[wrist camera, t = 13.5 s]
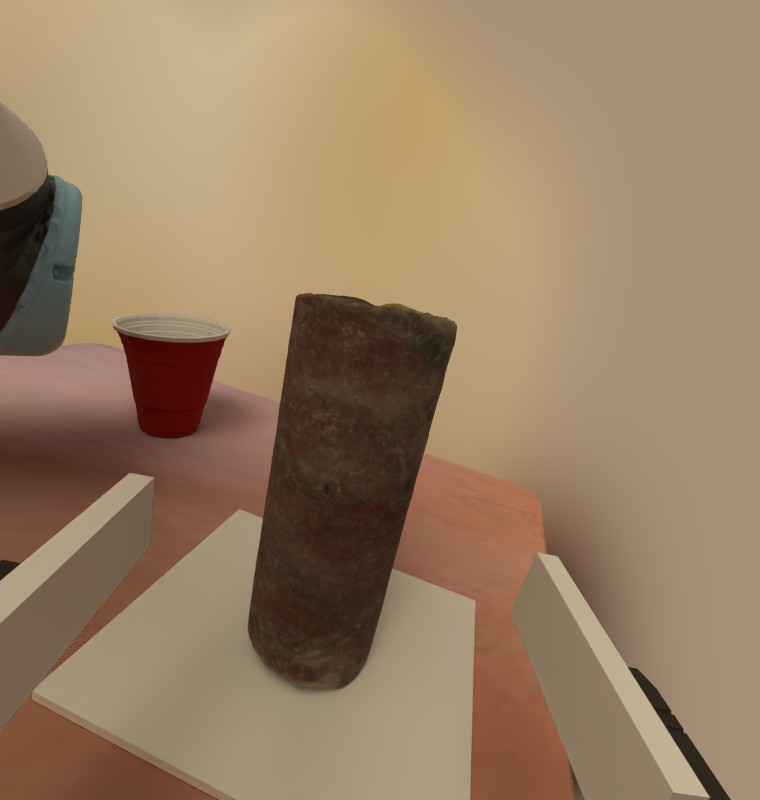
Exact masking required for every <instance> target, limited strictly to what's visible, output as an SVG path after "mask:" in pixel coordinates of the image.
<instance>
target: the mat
mask: <svg viewBox="0 0 760 800" xmlns="http://www.w3.org/2000/svg"><path fill="white" fill-rule="evenodd" d="M262 521H263V518H261V517H258V516H256V515H253V514H251V513H248V512H245V511H243V510H240V509H239V510H237V511H236V512H235V513H234V514H233V515H232V516H231V517H229V518H228V519H227V520H226V521H225V522H224V523H223V524H221V525H220V526H219V527H218V528H217V529H216V530H215V531H213V532H212V533H211V534H210V535H209V536H208V537H207V538H205V539H204V540H203V541H202V542H201V543H200V544H199V545H197V546H196V547H195V548H194V549H193V550H192V551H191V552H189V553H188V554H187V555H186V556H185V557H184V558H183V559H181V560H180V561H179V562H178V563H177V564H176V565H175V566H173V567H172V568H171V569H170V570H169V571H168V572H167V573H165V574H164V575H163V576H162V577H161V578H160V579H159V580H157V581H156V582H155V583H154V584H153V585H152V586H151V587H149V588H148V589H147V590H146V591H145V592H144V593H143V594H141V595H140V596H139V597H138V598H137V599H136V600H135V601H133V602H132V603H131V604H130V605H129V606H128V607H127V608H125V609H124V610H123V611H122V612H121V613H120V614H119V615H117V616H116V617H115V618H114V619H113V620H112V621H111V622H109V623H108V624H107V625H106V626H105V627H104V628H103V629H101V630H100V631H99V632H98V633H97V634H96V635H95V636H93V637H92V638H91V639H90V640H89V641H88V642H87V643H85V644H84V645H83V646H82V647H81V648H80V649H79V650H77V651H76V652H75V653H74V654H73V655H72V656H71V657H69V658H68V659H67V660H66V661H65V662H64V663H63V664H61V665H60V666H59V667H58V668H57V669H56V670H55V671H53V672H52V673H51V674H50V675H49V676H48V677H47V678H45V679H44V680H43V681H42V682H41V683H40V684H39V685H38V686H37V687H36V688H35V689H34V690H33V692H32V700H33V701H35V702H37V703H39V704H41V705H43V706H44V707H46V708H48V709H50V710H52V711H54V712H56V713H57V714H59V715H61V716H63V717H65V718H67V719H69V720H71V721H72V722H74V723H76V724H78V725H80V726H82V727H84V728H85V729H87V730H89V731H91V732H93V733H95V734H97V735H99V736H100V737H102V738H104V739H106V740H108V741H110V742H112V743H113V744H115V745H117V746H119V747H121V748H123V749H125V750H127V751H128V752H130V753H132V754H134V755H136V756H138V757H140V758H141V759H143V760H145V761H147V762H149V763H151V764H153V765H155V766H156V767H158V768H160V769H162V770H164V771H166V772H168V773H169V774H171V775H173V776H175V777H177V778H179V779H181V780H183V781H184V782H186V783H188V784H190V785H192V786H194V787H196V788H197V789H199V790H201V791H203V792H205V793H207V794H209V795H211V796H212V797H214V798H216V799H218V800H470V785H471V748H472V711H473V673H474V636H475V600H472V599H470V598H467V597H465V596H462V595H460V594H457V593H454V592H452V591H449V590H447V589H444V588H441V587H439V586H436V585H434V584H431V583H429V582H426V581H423V580H421V579H418V578H416V577H413V576H410V575H408V574H405V573H403V572H400V571H398V570H395V569H392V572H391V575H390V579H389V583H388V587H387V591H386V595H385V599H384V603H383V607H382V610H381V614H380V617H379V621H378V624H377V628H376V631H375V635H374V639H373V642H372V646H371V649H370V652H369V655H368V658H367V661H366V663H365V665H364V666H363V668H362V669H361V671H360V673H359V674H358V675H357V676H356V677H355V678H354V679H353V680H352V681H351V682H350V683H349V684H347V685H346V686H343V687H341V688H335V687H334V688H331V687H325V688H324V687H319V688H312V687H296V686H294V685H293V684H291V683H290V682H288V681H287V680H286V679H284V678H283V677H281V676H280V675H278V674H277V673H275V672H273V671H271V670H270V669H268V668H267V667H266V666H265V665H264V663H263V662H262V660H261V658H260V657H259V655H258V654H257V652H256V651H255V649H254V648H253V646H252V642H251V640H250V638H249V633H248V618H249V610H250V602H251V596H252V589H253V580H254V574H255V566H256V560H257V554H258V548H259V542H260V535H261V528H262Z"/></svg>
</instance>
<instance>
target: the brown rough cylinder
mask: <svg viewBox="0 0 760 800" xmlns="http://www.w3.org/2000/svg"><path fill="white" fill-rule="evenodd" d="M456 330H457V325H456V324H455V322H454V321H451V320H449V319H448V318H447V317H446V318H443V317H438V316H433V315H431V314H429V313H422V312H419V311H416V310H413V309H411V308H408V307H406V306H403V305H401V304H385V305H382V306H374V305H372V304H370V303H369V302H367V301H365V300H362V299H359V298H355V297H348V296H335V295H325V294H315V295H313V294H312V293H306V294H300V295H297V297H296V301H295V307H294V314H293V321H292V329H291V334H290V340H289V347H288V355H287V361H286V368H285V375H284V382H283V389H282V396H281V402H280V408H279V416H278V424H277V431H276V438H275V444H274V450H273V457H272V464H271V471H270V477H269V484H268V491H267V496H266V502H265V509H264V516H263V521H262V528H261V535H260V542H259V548H258V554H257V560H256V566H255V574H254V580H253V589H252V596H251V602H250V610H249V618H248V633H249V638H250V640H251V642H252V646H253V648H254V649H255V651H256V652H257V654H258V655H259V657H260V658H261V660H262V662H263V663H264V665H265V666H266V667H267V668H268V669H270V670H271V671H273V672H275V673H277V674H278V675H280V676H281V677H283V678H284V679H286V680H287V681H288V682H290V683H291V684H293V685H294V686H296V687H312V688H319V687H324V688H325V687H331V688H334V687H335V688H341V687H343V686H346V685H347V684H349V683H350V682H351V681H352V680H353V679H354V678H355V677H356V676H357V675H358V674H359V673H360V671H361V669H362V668H363V666H364V665H365V663H366V661H367V658H368V655H369V652H370V649H371V646H372V642H373V639H374V635H375V631H376V628H377V624H378V621H379V617H380V614H381V610H382V607H383V603H384V599H385V595H386V591H387V587H388V583H389V579H390V575H391V572H392V568H393V564H394V560H395V555H396V552H397V548H398V545H399V541H400V537H401V533H402V530H403V526H404V522H405V518H406V514H407V511H408V507H409V504H410V501H411V497H412V494H413V490H414V486H415V482H416V478H417V474H418V471H419V468H420V464H421V461H422V457H423V454H424V450H425V447H426V444H427V440H428V436H429V431H430V427H431V423H432V420H433V416H434V413H435V409H436V405H437V402H438V399H439V395H440V393H441V390H442V386H443V381H444V377H445V372H446V369H447V365H448V362H449V359H450V355H451V352H452V350H453V347H454V343H455V339H456Z"/></svg>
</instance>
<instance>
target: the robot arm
mask: <svg viewBox="0 0 760 800" xmlns="http://www.w3.org/2000/svg"><path fill="white" fill-rule="evenodd" d="M81 211H82V194H81V192H80V191H79V189H78V188H77V187H76V186H74V185H73V184H71V183H68V182H65V181H64V180H63V179H61V178H60V177H59V176H51V175H48V168H47V160H46V157H45V153H44V150H43V147H42V145H41V142H40V141H39V139H38V138H37V136H36V135H35V134H34V132H33V131H32V130H31V129H30V128H29V127H28V126H27V125H26V124H25V123H24V122H23V121H22V120H21V119H20V118H19V117H18V116H17V115H16V114H14V113H13V112H12V111H10V110H9V109H8V108H7V107H6V106H4V105H3V104H2V103H1V102H0V355H3V356H43V355H47V354H49V353H52V352H54V351H55V350H57V349H58V348H59V347H60V346H61V344H62V343H63V341H64V339H65V334H66V330H67V325H68V318H69V312H70V304H71V297H72V289H73V275H74V271H75V263H76V257H77V250H78V241H79V232H80V222H81ZM153 491H154V477H149V476H144V475H139V474H133V473H129V474H128V475H127V476H126V477H124V478H123V479H122V480H121V481H120V482H118V483H117V484H116V485H115V486H114V487H112V488H111V489H110V490H109V491H107V492H106V493H105V494H104V495H103V496H101V497H100V498H99V499H98V500H97V501H95V502H94V503H93V504H92V505H91V506H89V507H88V508H87V509H86V510H85V511H83V512H82V513H81V514H80V515H79V516H77V517H76V518H75V519H74V520H73V521H71V522H70V523H69V524H68V525H67V526H65V527H64V528H63V529H62V530H61V531H59V532H58V533H57V534H56V535H55V536H53V537H52V538H51V539H50V540H49V541H47V542H46V543H45V544H44V545H43V546H41V547H40V548H39V549H38V550H37V551H35V552H34V553H33V554H32V555H31V556H29V557H28V558H27V559H26V560H25V561H23V562H22V563H17V562H11V561H5V560H1V561H0V731H1V730H2V729H3V728H4V726H5V725H6V724H7V723H8V721H9V720H10V719H11V718H12V716H13V715H14V714H15V713H16V711H17V710H18V709H19V708H20V707H21V705H22V704H23V703H24V702H25V700H26V699H27V698H28V697H29V695H30V694H31V693H32V692H33V690H34V689H35V688H36V687H37V686H38V684H39V683H40V682H41V681H42V679H43V678H44V677H45V676H46V674H47V673H48V672H49V671H50V669H51V668H52V667H53V666H54V665H55V663H56V662H57V661H58V660H59V658H60V657H61V656H62V655H63V653H64V652H65V651H66V650H67V649H68V647H69V646H70V645H71V644H72V642H73V641H74V640H75V639H76V637H77V636H78V635H79V634H80V632H81V631H82V630H83V629H84V628H85V626H86V625H87V624H88V623H89V621H90V620H91V619H92V618H93V616H94V615H95V614H96V613H97V611H98V610H99V609H100V608H101V607H102V605H103V604H104V603H105V602H106V600H107V599H108V598H109V597H110V595H111V594H112V593H113V592H114V590H115V589H116V588H117V587H118V586H119V584H120V583H121V582H122V581H123V579H124V578H125V577H126V576H127V574H128V573H129V572H130V571H131V569H132V568H133V567H134V566H135V565H136V563H137V562H138V561H139V560H140V558H141V557H142V556H143V555H144V553H145V552H146V551H147V550H148V549H149V547H150V537H151V522H152V506H153ZM511 614H512V616H513V619H514V621H515V624H516V627H517V629H518V632H519V634H520V637H521V639H522V642H523V644H524V647H525V649H526V652H527V655H528V657H529V660H530V662H531V665H532V667H533V670H534V672H535V675H536V677H537V680H538V682H539V685H540V688H541V690H542V693H543V695H544V698H545V700H546V703H547V705H548V708H549V710H550V713H551V716H552V718H553V721H554V723H555V726H556V728H557V731H558V733H559V736H560V738H561V741H562V743H563V746H564V749H565V751H566V754H567V756H568V759H569V761H570V764H571V766H572V769H573V771H574V774H575V776H576V779H577V781H578V784H579V787H580V789H581V792H582V794H583V797H584V799H585V800H730V798H729V797H728V795H727V794H726V792H725V791H724V789H723V788H722V786H721V785H720V783H719V782H718V780H717V779H716V777H715V776H714V774H713V773H712V771H711V770H710V768H709V767H708V765H707V764H706V762H705V761H704V759H703V758H702V756H701V755H700V753H699V752H698V750H697V749H696V747H695V746H694V744H693V743H692V741H691V740H690V738H689V737H688V735H687V734H685V733H684V732H683V728H682V726H681V725H680V723H679V722H678V720H677V719H676V717H675V716H674V715H672V714H671V710H670V709H669V707H668V705H667V704H666V702H665V701H664V699H663V698H662V697H661V695H660V693H659V692H658V690H657V689H656V688H655V687H654V686H653V685H652V684H651V683H650V682H649V681H648V679H646V677H645V676H644V675H643V674H642V673H641V672H640V671H639V670H638V669H636V668H630V667H627V666H626V664H625V662H624V661H623V660H622V658H621V656H620V655H619V653H618V651H617V650H616V648H615V647H614V645H613V643H612V642H611V640H610V639H609V637H608V636H607V634H606V632H605V631H604V629H603V628H602V626H601V625H600V623H599V621H598V620H597V618H596V617H595V615H594V613H593V612H592V610H591V609H590V607H589V605H588V604H587V602H586V601H585V599H584V598H583V596H582V594H581V593H580V591H579V590H578V588H577V586H576V585H575V583H574V582H573V580H572V579H571V577H570V575H569V574H568V572H567V571H566V569H565V567H564V566H563V564H562V563H561V561H560V560H559V558H558V557H557V556H552V555H547V554H542V553H537V554H536V556H535V559H534V561H533V563H532V565H531V568H530V570H529V572H528V574H527V577H526V579H525V581H524V583H523V586H522V588H521V590H520V593H519V595H518V597H517V599H516V602H515V604H514V606H513V608H512V611H511Z"/></svg>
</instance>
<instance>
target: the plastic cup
mask: <svg viewBox="0 0 760 800" xmlns="http://www.w3.org/2000/svg"><path fill="white" fill-rule="evenodd" d="M111 322H112V325H113V328H114V330H116V331H117V332H118V334H119V336H120V338H121V342H122V344H123V346H124V351H125V354H126V357H127V363H128V369H129V374H130V380H131V385H132V391H133V397H134V400H135V403H136V410H137V417H138V422H139V425H140V428H141V430H142V431H144V432H145V433H146V434H149V435H152V436H156V437H163V438H177V437H183V436H187V435H190V434H192V433H194V432H195V431H196V429H197V427H198V425H199V423H200V420H201V416H202V413H203V409H204V406H205V404H206V402H207V399H208V395H209V391H210V388H211V384H212V381H213V377H214V373H215V370H216V366H217V362H218V359H219V357H220V355H221V350H222V348H223V345H224V341H225V340H226V338H227V336H228V335H229V333H230V330H231V329H230V328H229V327H228V326H227V325H226V324H223V323H220V322H217V321H214V320H210V319H205V318H200V317H193V316H185V315H177V314H157V313H155V314H154V313H153V314H132V315H125V316H119V317H117V318H115V319H113V320H111Z"/></svg>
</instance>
